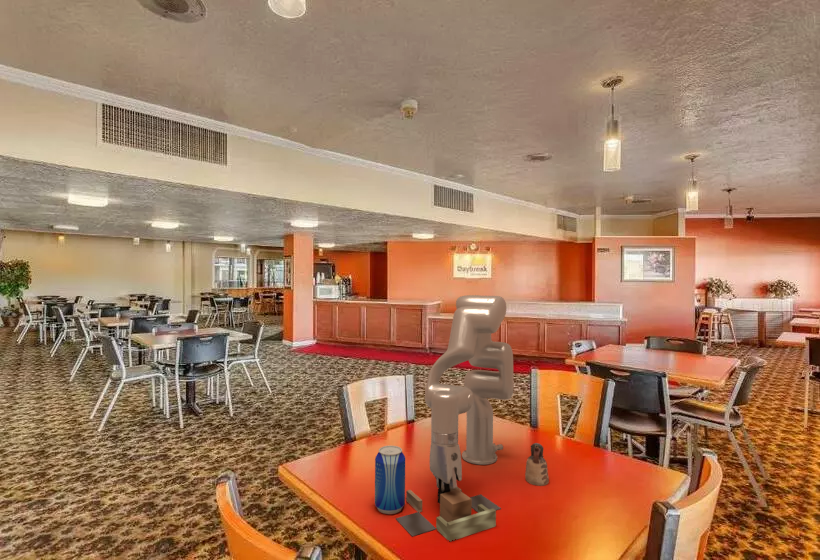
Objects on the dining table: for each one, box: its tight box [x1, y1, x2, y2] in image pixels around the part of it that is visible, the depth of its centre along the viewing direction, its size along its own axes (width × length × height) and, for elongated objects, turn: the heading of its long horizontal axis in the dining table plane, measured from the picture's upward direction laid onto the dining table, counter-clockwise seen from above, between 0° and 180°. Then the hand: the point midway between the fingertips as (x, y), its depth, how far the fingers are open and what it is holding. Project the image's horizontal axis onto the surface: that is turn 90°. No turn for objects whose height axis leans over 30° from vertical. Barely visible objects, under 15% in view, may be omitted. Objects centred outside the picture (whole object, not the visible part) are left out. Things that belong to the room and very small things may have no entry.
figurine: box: [524, 442, 550, 487], centre depth 135 cm, size 7×7×12 cm
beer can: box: [374, 445, 406, 515], centre depth 118 cm, size 8×8×16 cm
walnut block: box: [439, 489, 473, 522], centre depth 112 cm, size 6×6×6 cm
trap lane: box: [395, 486, 502, 542], centre depth 115 cm, size 28×22×4 cm
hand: (444, 503), depth 117 cm, fingers closed
